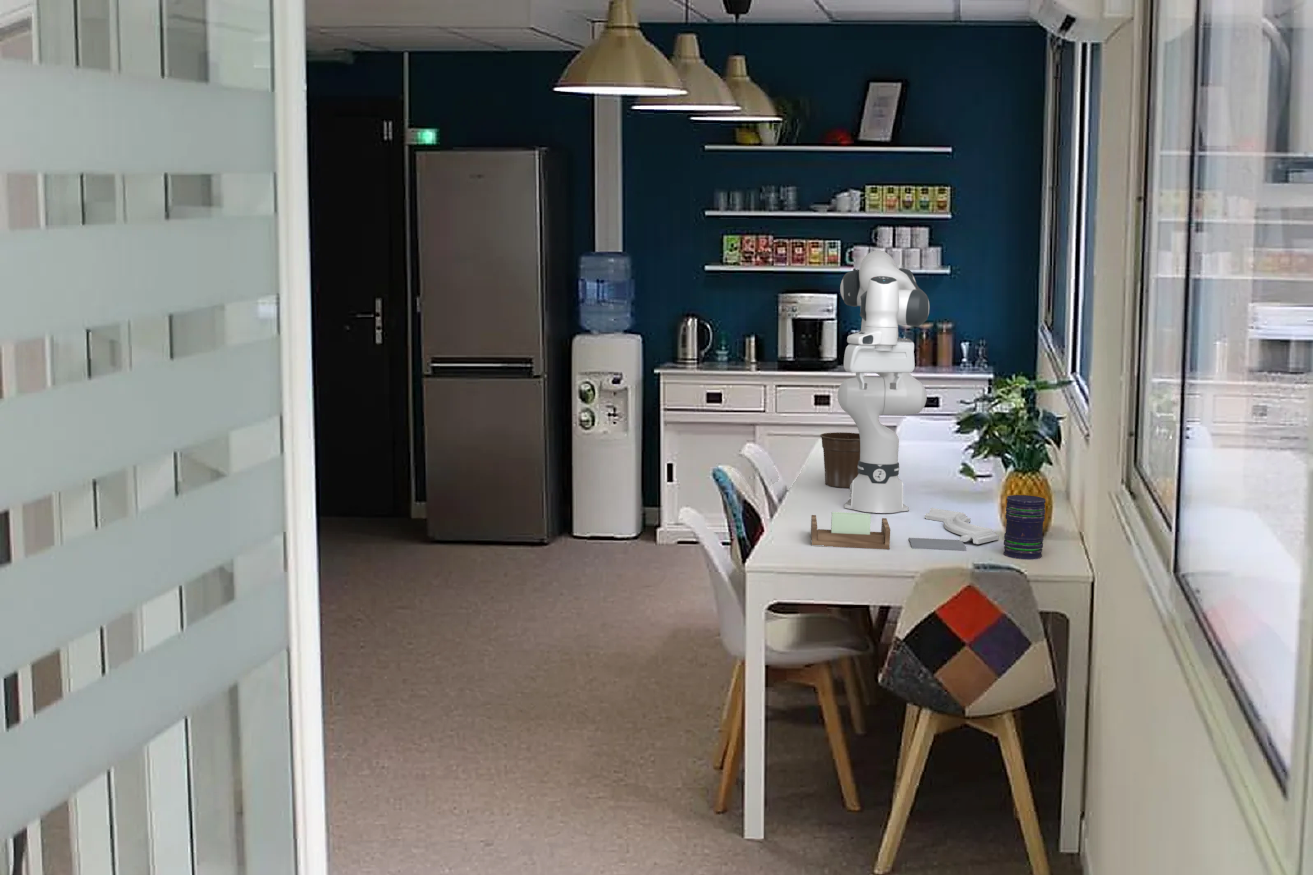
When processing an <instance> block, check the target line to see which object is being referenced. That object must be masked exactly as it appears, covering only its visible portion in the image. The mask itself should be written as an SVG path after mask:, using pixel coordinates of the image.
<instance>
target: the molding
mask: <svg viewBox="0 0 1313 875" xmlns="http://www.w3.org/2000/svg"><path fill="white" fill-rule="evenodd" d="M925 518H926V519H925ZM924 519H925V520H932V521H937V522H943V528H945V530H947V531H949V532H951V533H953V534H956V535H959V539H958V540H959V541H963V543H967V542H971V541H972V543H973V544H975V545H980V544H985V543H989V542H992V541H998V540H1000V534H996V532H995V531H994V530H993V529H992V528H988V527H983V526H979V525H976V524H972V523H971V520H972V519H971V518H970V517H968V515H966V513H964V512H960V511H954V510H947V509H941V508H934V507H931V508H930V510H929V513H928V512H926V513H925V514H924ZM968 522H970V523H968Z"/></svg>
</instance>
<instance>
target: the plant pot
mask: <svg viewBox="0 0 1313 875" xmlns="http://www.w3.org/2000/svg"><path fill="white" fill-rule="evenodd" d="M819 437H820V438H821V447H822V449H823V465H824V468H823V469H824V480H825V481H824V483H825V485H826V486H829V487H833V488H840V489H842V488H846V489H850V484H851V483H852V482H853V480H854V479H855V478H856V477H857V476H858V474H859V473H858V461H859V460H860V435H859V432H847V431H846V432H843V431H842V432H825V433H821V434H819Z"/></svg>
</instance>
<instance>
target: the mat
mask: <svg viewBox="0 0 1313 875" xmlns="http://www.w3.org/2000/svg"><path fill="white" fill-rule="evenodd" d="M959 540H960V539H949V538H948V539H945V538H929V537H928V538H927V537H926V538H924V537H923V538H921V537H908V542H909V544H910V547H911V549H924V550H925V549H926V550H942V551H943V550H944V551H967V547H966V545H965V542H963V541H959Z"/></svg>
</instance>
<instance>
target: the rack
mask: <svg viewBox="0 0 1313 875" xmlns="http://www.w3.org/2000/svg"><path fill="white" fill-rule="evenodd" d="M810 516H811V520H810V540H812V543H811V546H812V545H824V546H823V547H827V546H833V547H832V548H850V549H853V548H854V549H855V548H856V549H869V550H870V549H872V550H875V549H877V550H890V546H891V544H890V543H891V528H890V525H889V522H888V518H885V517H882V518H881V530H880V531H870V535H867V534H845V533H831V529H819V528H818V521H817V515H816V514H811V515H810Z"/></svg>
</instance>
